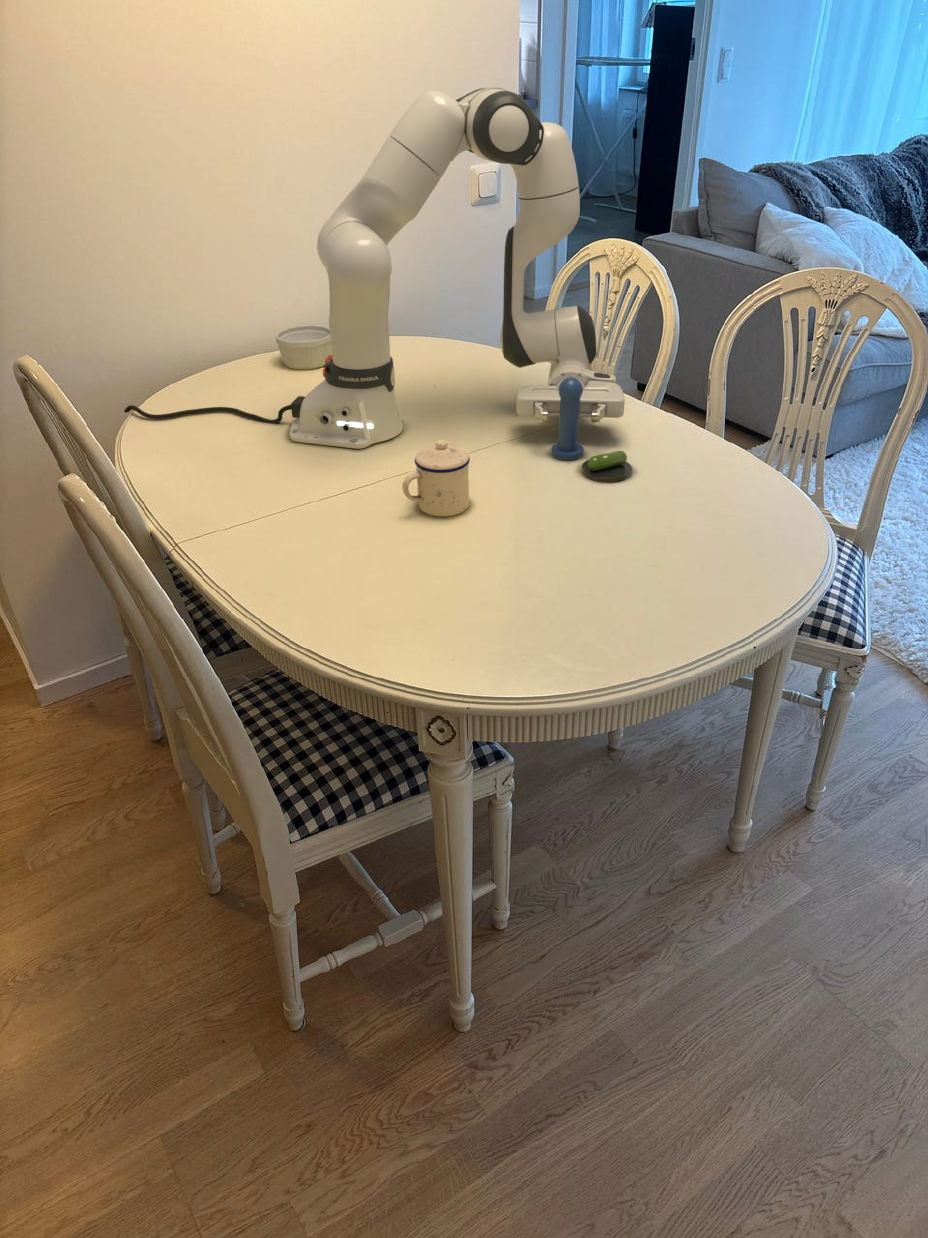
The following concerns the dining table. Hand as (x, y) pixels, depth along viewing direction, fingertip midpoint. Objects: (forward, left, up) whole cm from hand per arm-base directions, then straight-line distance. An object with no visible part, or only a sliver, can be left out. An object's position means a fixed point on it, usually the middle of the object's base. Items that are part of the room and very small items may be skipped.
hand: (569, 418), depth 166 cm
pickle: (+7, -6, -8) cm, 12 cm away
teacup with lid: (-22, -22, -8) cm, 32 cm away
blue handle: (0, +1, -8) cm, 8 cm away
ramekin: (-62, +49, -8) cm, 79 cm away
